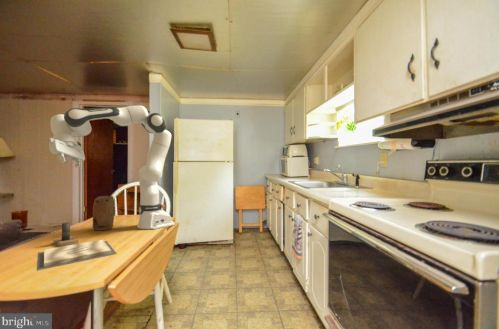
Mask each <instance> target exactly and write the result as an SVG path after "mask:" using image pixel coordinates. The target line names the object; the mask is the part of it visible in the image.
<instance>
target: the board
mask: <svg viewBox="0 0 499 329" xmlns="http://www.w3.org/2000/svg"><path fill="white" fill-rule="evenodd" d="M104 241H105V240H104V239H100V240H94V241H87V242H80V243H77V244H73V245H68V246H62V247H60V246H58V247H51V248H45V249H44V250H43V252H44V267H48V266H52V265H57V264H62V263H67V262H72V261H77V260H82V259H87V258H92V257H97V256H101V255H106V254H111V250H110V248H109V247H108V246H107V244H106V243H105V242H104Z"/></svg>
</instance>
